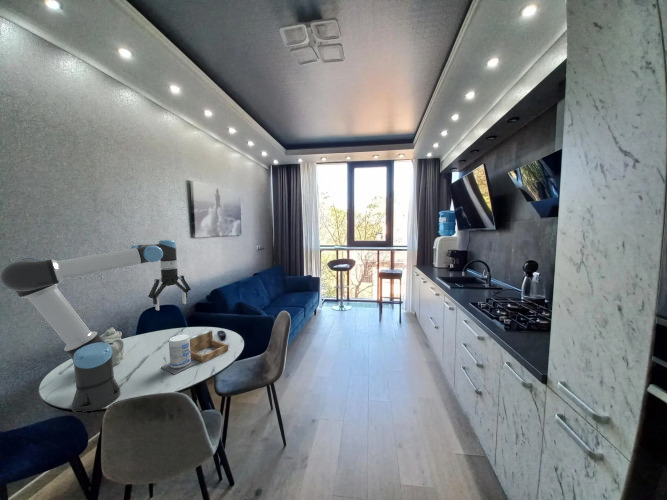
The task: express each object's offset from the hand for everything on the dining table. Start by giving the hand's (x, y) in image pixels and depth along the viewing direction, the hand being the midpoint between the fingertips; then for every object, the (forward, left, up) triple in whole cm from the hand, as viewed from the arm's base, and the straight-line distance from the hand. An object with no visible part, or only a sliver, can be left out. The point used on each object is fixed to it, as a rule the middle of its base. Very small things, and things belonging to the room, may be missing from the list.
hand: (171, 306), depth 138 cm
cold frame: (+14, -8, -31) cm, 35 cm away
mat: (-1, -8, -31) cm, 32 cm away
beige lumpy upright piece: (-20, +27, -31) cm, 45 cm away
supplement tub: (-1, -8, -30) cm, 31 cm away
